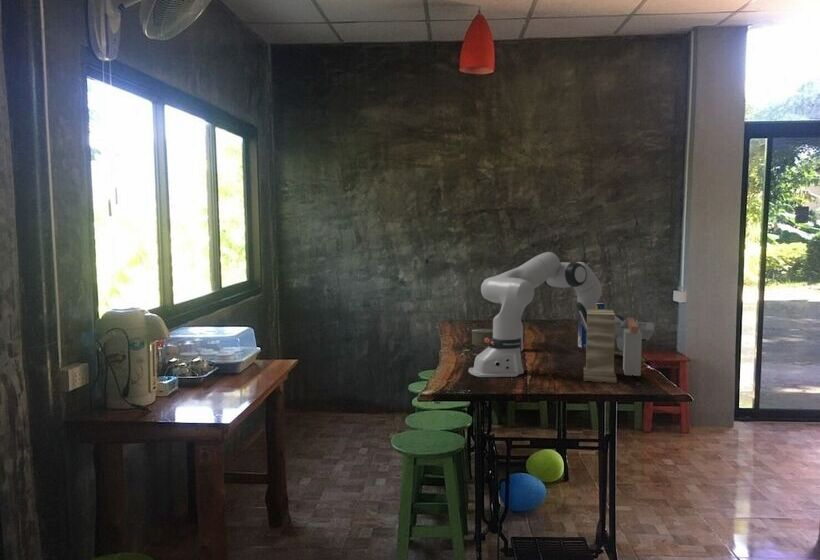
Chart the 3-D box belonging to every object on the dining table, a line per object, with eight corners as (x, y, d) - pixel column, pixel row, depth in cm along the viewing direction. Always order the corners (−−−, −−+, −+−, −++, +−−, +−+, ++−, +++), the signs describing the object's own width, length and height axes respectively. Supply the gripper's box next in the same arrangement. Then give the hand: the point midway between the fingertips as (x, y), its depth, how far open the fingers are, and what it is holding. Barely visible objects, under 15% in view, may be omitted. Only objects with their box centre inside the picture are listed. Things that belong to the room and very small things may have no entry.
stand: (616, 383, 242) (617, 315, 239) (583, 381, 245) (584, 314, 243) (613, 372, 259) (615, 309, 257) (583, 371, 262) (584, 308, 260)
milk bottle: (522, 352, 303) (523, 310, 301) (506, 351, 304) (506, 310, 303) (523, 349, 310) (523, 308, 309) (507, 348, 312) (507, 308, 310)
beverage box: (603, 348, 312) (604, 303, 310) (581, 348, 312) (582, 303, 310) (599, 345, 319) (600, 302, 317) (577, 345, 319) (578, 302, 317)
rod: (638, 333, 249) (638, 326, 248) (631, 332, 249) (631, 326, 249) (632, 323, 273) (633, 317, 272) (626, 323, 273) (626, 317, 273)
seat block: (640, 375, 253) (641, 333, 252) (624, 375, 255) (625, 333, 254) (638, 369, 265) (639, 329, 264) (622, 368, 266) (623, 328, 265)
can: (494, 346, 320) (494, 332, 319) (470, 345, 322) (470, 331, 321) (495, 341, 332) (495, 328, 331) (472, 341, 334) (472, 328, 333)
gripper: (603, 325, 285) (604, 313, 273) (652, 327, 280) (655, 315, 268) (603, 338, 283) (605, 327, 271) (652, 340, 277) (656, 329, 265)
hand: (630, 321), depth 269 cm, fingers closed on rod, 2 cm apart
